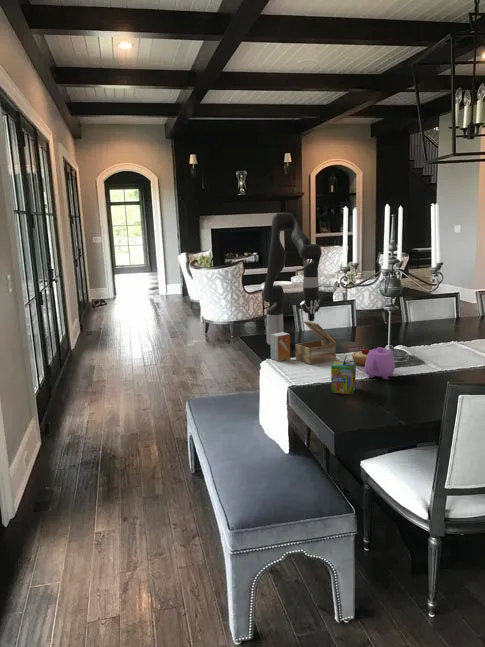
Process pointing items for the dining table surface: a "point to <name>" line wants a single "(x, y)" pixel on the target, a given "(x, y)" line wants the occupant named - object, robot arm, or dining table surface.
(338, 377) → the chalk box
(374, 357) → the teapot
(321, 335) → the lid
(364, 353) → the pastry
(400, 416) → the dining table surface
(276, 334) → the small box
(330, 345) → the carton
